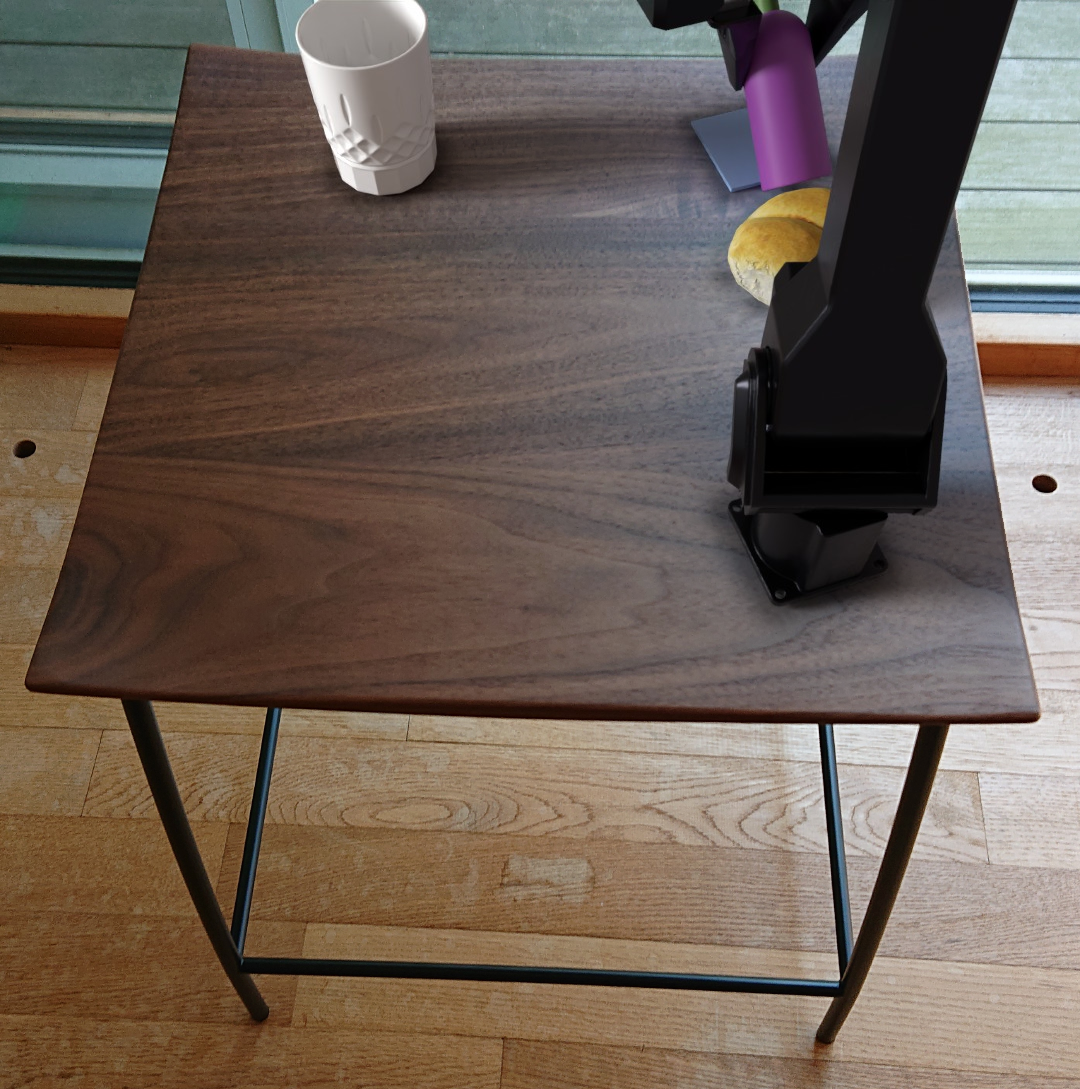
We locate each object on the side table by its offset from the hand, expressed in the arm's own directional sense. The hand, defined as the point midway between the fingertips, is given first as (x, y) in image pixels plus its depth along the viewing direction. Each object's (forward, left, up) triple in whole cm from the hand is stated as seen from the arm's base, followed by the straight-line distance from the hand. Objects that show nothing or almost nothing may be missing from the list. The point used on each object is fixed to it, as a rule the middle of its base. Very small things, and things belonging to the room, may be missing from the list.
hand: (770, 78), depth 68 cm
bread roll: (-11, +2, -5) cm, 12 cm away
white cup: (+7, +24, -5) cm, 26 cm away
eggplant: (-6, 0, -4) cm, 7 cm away
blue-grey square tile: (0, 0, -5) cm, 5 cm away
